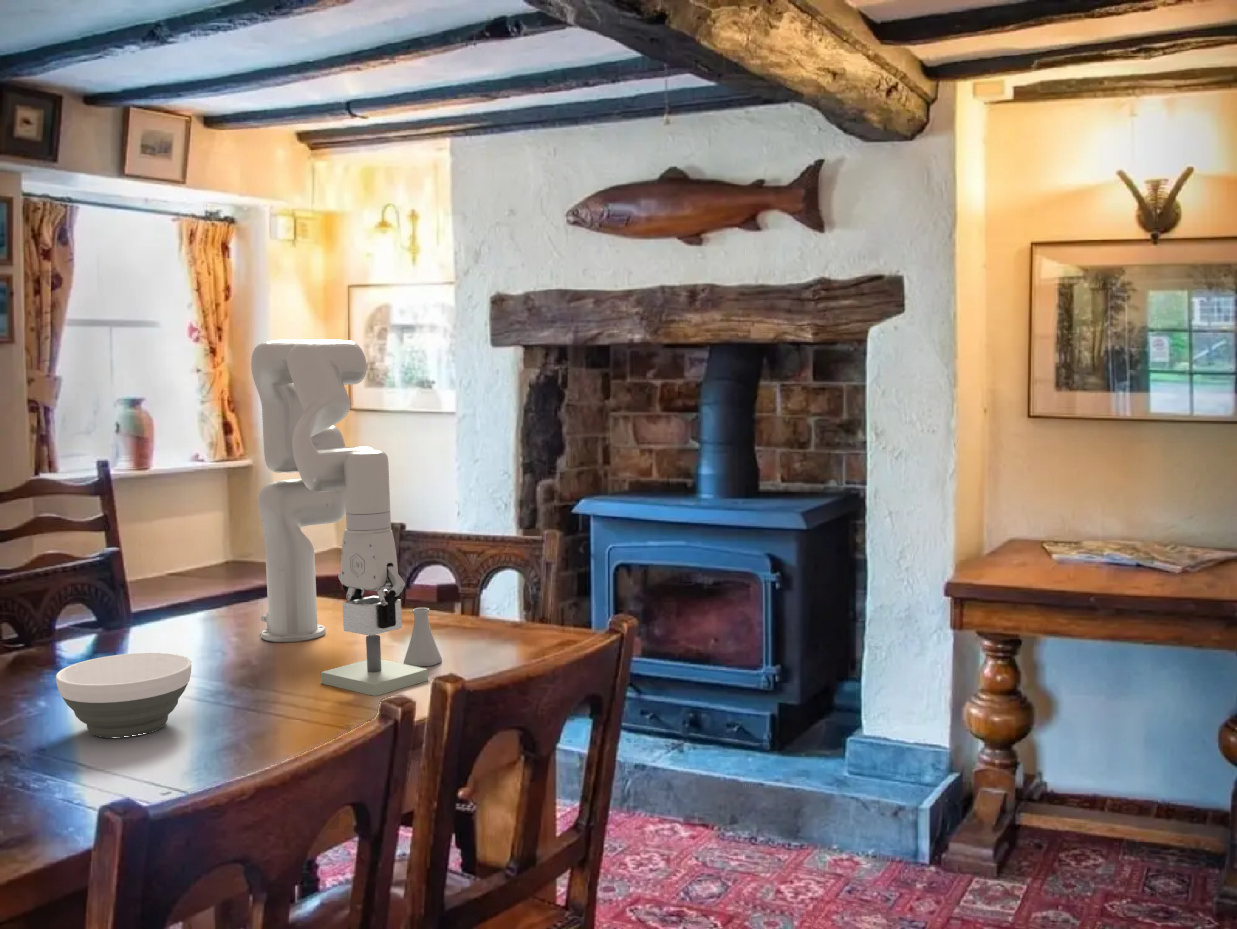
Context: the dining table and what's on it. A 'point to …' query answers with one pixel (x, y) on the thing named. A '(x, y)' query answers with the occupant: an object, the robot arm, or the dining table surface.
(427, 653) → the flask
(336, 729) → the dining table surface
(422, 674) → the keeper
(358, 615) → the white square ring
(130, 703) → the bowl
